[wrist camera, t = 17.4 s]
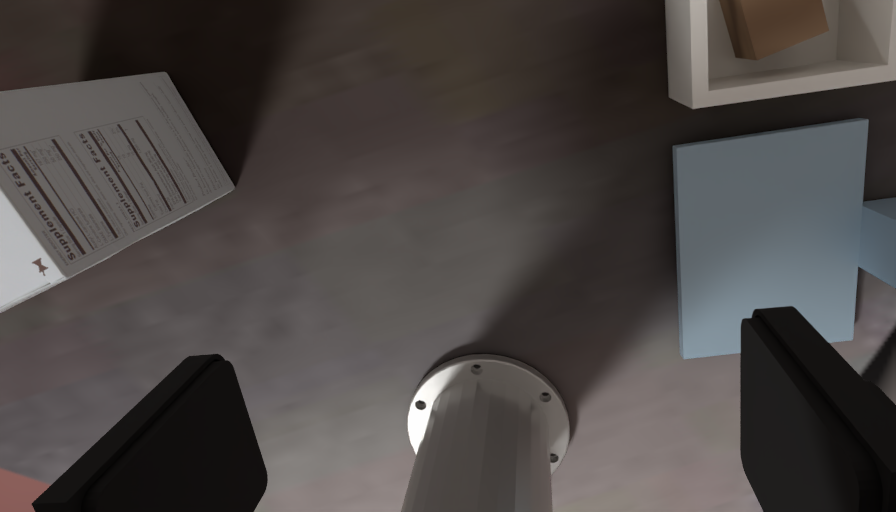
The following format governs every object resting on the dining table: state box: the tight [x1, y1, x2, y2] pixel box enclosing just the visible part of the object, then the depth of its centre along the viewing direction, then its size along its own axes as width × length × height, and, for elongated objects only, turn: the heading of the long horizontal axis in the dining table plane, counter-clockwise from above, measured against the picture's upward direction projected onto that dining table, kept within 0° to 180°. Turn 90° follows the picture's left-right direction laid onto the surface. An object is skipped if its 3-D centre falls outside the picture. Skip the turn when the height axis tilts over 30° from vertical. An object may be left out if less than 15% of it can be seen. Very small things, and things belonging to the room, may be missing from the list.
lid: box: [672, 118, 896, 359], centre depth 35 cm, size 15×14×8 cm
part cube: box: [719, 0, 829, 60], centre depth 33 cm, size 4×4×4 cm
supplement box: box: [0, 72, 235, 313], centre depth 35 cm, size 10×9×17 cm
